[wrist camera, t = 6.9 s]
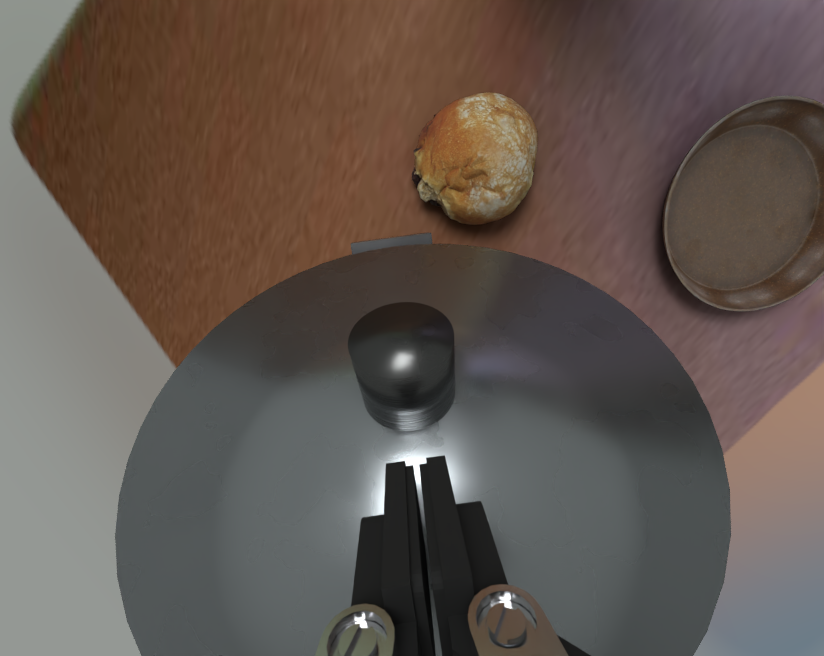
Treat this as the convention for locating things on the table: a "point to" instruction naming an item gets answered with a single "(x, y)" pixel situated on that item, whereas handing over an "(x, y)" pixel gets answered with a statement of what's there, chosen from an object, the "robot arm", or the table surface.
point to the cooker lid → (424, 456)
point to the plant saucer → (751, 206)
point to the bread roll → (476, 158)
